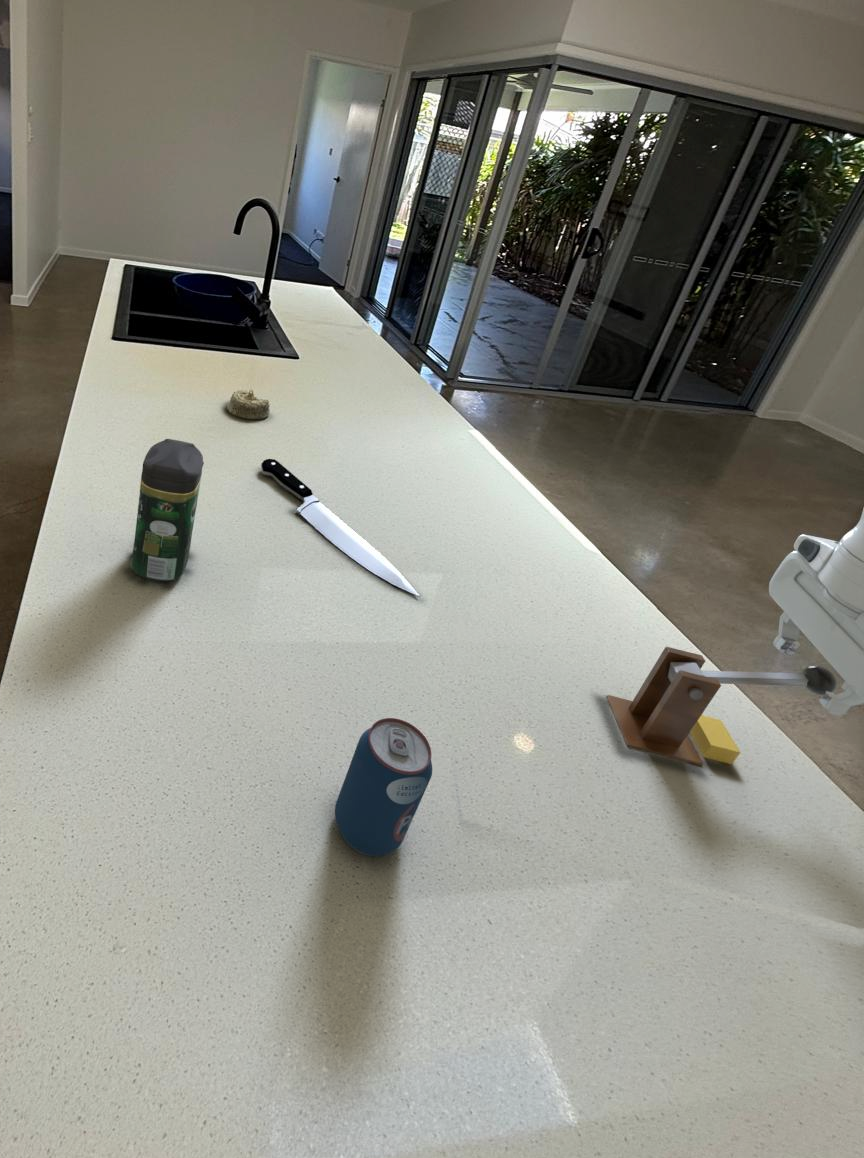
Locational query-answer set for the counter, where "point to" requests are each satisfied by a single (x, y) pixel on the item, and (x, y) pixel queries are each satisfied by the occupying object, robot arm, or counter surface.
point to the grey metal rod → (766, 677)
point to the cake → (248, 405)
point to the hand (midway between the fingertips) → (804, 678)
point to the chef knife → (335, 527)
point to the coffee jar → (166, 510)
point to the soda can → (383, 786)
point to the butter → (714, 740)
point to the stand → (666, 708)
